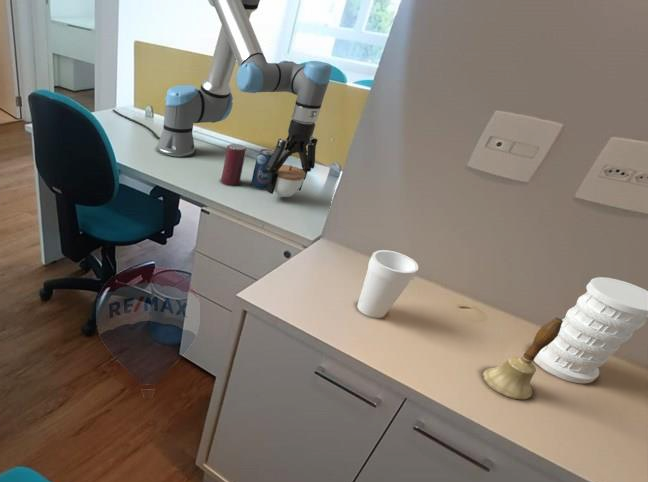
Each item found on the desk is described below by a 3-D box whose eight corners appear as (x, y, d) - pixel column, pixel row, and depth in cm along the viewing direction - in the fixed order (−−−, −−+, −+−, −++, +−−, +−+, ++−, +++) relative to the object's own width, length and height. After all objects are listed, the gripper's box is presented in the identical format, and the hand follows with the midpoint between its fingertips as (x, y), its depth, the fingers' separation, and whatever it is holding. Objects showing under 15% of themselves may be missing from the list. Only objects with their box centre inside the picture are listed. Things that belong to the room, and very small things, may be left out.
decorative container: (609, 383, 89) (685, 312, 78) (558, 383, 88) (627, 312, 77) (564, 345, 98) (626, 276, 87) (516, 345, 97) (573, 275, 85)
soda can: (255, 190, 155) (264, 155, 147) (247, 183, 160) (254, 148, 152) (273, 190, 157) (282, 155, 149) (264, 182, 162) (272, 148, 154)
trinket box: (299, 202, 146) (308, 174, 140) (266, 197, 147) (274, 168, 141) (297, 189, 154) (306, 162, 148) (266, 185, 155) (274, 157, 149)
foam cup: (345, 296, 107) (366, 248, 99) (383, 299, 107) (407, 251, 99) (358, 320, 100) (382, 271, 92) (398, 323, 100) (426, 274, 92)
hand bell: (487, 391, 85) (540, 327, 75) (479, 364, 91) (527, 301, 81) (536, 405, 83) (597, 341, 73) (524, 376, 89) (579, 313, 79)
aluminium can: (217, 179, 160) (223, 144, 152) (233, 178, 163) (240, 143, 155) (226, 186, 156) (233, 150, 148) (242, 185, 158) (250, 149, 150)
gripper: (279, 126, 129) (261, 198, 143) (341, 123, 137) (317, 191, 151) (265, 118, 134) (248, 189, 148) (325, 116, 142) (304, 183, 156)
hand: (283, 190), depth 150 cm, fingers closed on trinket box, 11 cm apart
